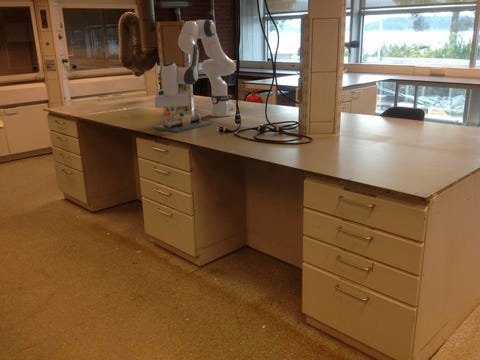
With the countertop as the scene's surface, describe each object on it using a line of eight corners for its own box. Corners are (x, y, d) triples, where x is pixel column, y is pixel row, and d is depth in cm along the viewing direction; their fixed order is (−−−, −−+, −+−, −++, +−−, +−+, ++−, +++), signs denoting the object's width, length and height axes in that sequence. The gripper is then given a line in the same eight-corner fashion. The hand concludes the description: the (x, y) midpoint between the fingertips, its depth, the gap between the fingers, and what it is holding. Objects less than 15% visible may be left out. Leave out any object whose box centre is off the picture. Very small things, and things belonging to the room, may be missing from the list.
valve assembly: (187, 121, 300) (186, 110, 298) (211, 124, 287) (211, 113, 285) (152, 128, 278) (151, 117, 276) (178, 132, 265) (177, 120, 263)
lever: (181, 114, 283) (181, 108, 282) (186, 114, 281) (185, 109, 280) (163, 118, 269) (163, 112, 268) (168, 119, 268) (168, 113, 266)
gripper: (188, 89, 269) (189, 112, 273) (153, 91, 265) (155, 114, 270) (189, 90, 263) (190, 114, 268) (153, 92, 259) (155, 116, 264)
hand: (172, 114), depth 269 cm, fingers closed
